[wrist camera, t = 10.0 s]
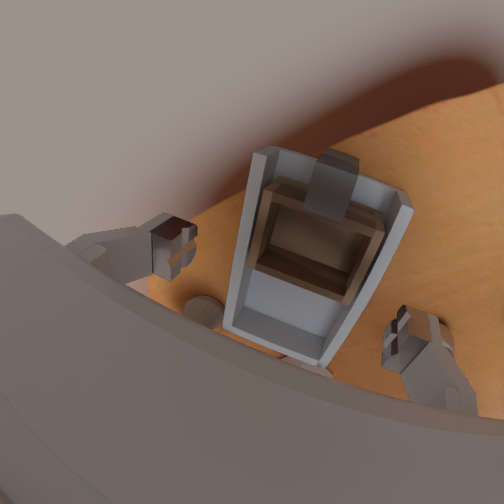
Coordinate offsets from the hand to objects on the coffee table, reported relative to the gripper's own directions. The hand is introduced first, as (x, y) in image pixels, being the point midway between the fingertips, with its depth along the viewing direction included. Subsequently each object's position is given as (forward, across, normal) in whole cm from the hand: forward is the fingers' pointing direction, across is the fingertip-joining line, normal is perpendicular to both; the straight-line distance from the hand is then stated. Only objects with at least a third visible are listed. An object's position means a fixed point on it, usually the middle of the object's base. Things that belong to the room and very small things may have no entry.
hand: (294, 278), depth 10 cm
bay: (+19, 0, +11) cm, 21 cm away
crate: (+17, 0, +4) cm, 18 cm away
